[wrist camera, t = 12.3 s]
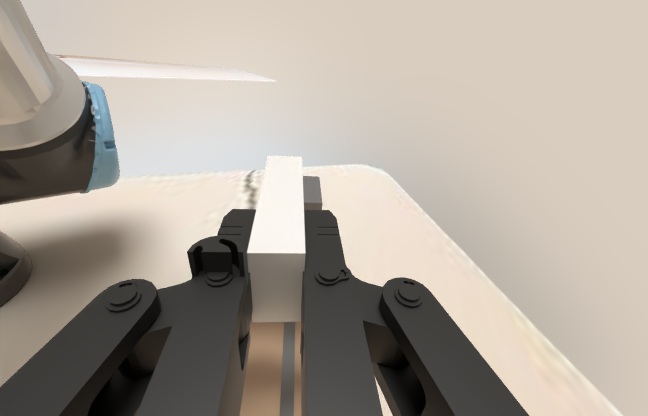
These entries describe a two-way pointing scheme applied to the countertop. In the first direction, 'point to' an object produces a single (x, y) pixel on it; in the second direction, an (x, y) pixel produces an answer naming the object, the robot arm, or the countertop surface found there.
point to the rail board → (273, 370)
